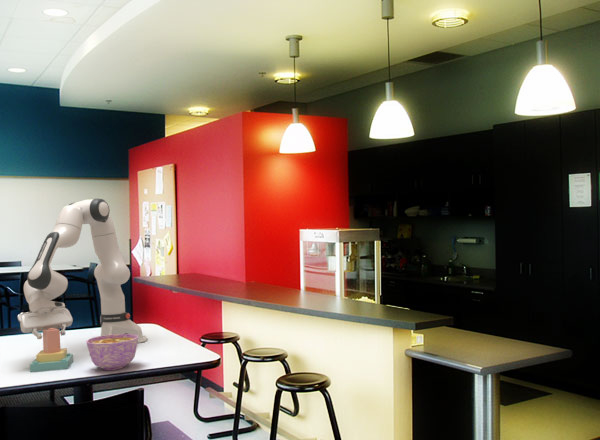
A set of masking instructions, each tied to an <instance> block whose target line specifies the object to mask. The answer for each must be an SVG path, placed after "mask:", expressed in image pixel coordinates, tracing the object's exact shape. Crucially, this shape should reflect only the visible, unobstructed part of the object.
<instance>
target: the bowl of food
mask: <svg viewBox="0 0 600 440" xmlns="http://www.w3.org/2000/svg"><path fill="white" fill-rule="evenodd" d="M138 338H139V337H138V335H134V334H113V335H104V336H101V335H100V336H94V337H92V338H89V339H87V340H86V346H87V349H88V353H89V356H90V359H91V362H92V363H93V364H94V366H96V367H97V368H101V369H103V370H104V371H115V370H120V369H123V368H125V366H127V365H129V364H130V363H132V361H133V360H134V359H135V355H136V352H137V349H138V348H137V347H138V344H139V343H138Z"/></svg>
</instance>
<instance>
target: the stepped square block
mask: <svg viewBox="0 0 600 440" xmlns="http://www.w3.org/2000/svg"><path fill="white" fill-rule="evenodd" d="M73 362H74V354H73V353H70V352H68V348H60V352H55V353H49V354H48V353H45V352H44V351H43V349H42V350H39V352H38V353H37V354H36V355H35V359H34V360H33V361H32V362H31V363H30V364H29V369H30V370H29V372H30V373H36V372H46V371H48V372H49V371H58V370H67V369H69V368H70V366H71V365H72V364H73Z"/></svg>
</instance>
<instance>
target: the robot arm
mask: <svg viewBox="0 0 600 440" xmlns="http://www.w3.org/2000/svg"><path fill="white" fill-rule="evenodd" d="M110 210H111V209H110V206H109V204H108V202H107V201H106V200H105V199H102V198H94V199H91V198H90V199H83V200H80V201H77V202H71V203H69V204H67V205H65V206H63V208H61V210H60V212H59V213H58V215H57V219H56V222H55V225H54V229H53V231H52V232H49V233H48V234H47V235H46V237H45V239H44V240H43V242H42V245H41V247H40V250H39V252H38V254H37V257H36V259H35V261H34V262H33V265H32V266H31V268H30V269H29V271H28V273H27V276H26V279H27V280H26V281H25V282H24V284H23V294H24V297H25V300H26V302H27V303H28V308H29V311H27V312H20V313H19V314H18V315H17V317H16V318H17V321H18V322H19V326H20V332H22V333H24V334H27V333H32V335H33V336H35V337H36V339H37V340H43V333H40V332H43V330H46V329H48V328H56V329H61V330H60V337H61V336H66V331H65V330H66V328H68V327H69V328H70V327H71V326H72V324H73V320H74V319H73V316H72V314H71V312H70V310H69V309H68V308H66V305H65V303H64V302H61V301H60V302H59V301H55V299H57V298H58V297H60V296H61V295H63V294H64V293H66V291H67V289H68V286H69V282H68V281H69V280H68V278H67V277H66V276H64V275H63V274H62V273H59V272H57V271H55V270H53V269H52V268H51V263H52V261H53V258H54V255H55V254H56V251H57V249H59V248H61V249H63V248H65V249H66V248H70V247H73V246H74V245H76V244H77V243H78V241H79V239H80V237H81V233H82V229H83V225H87V224H88V225H89V226H90V235H91V239H92V244H93V249H94V253H95V255H96V256H97V257H98V261H99V262H100V263H99V264H97V265H96V267H95V268H94V271H93V276H94V278H95V279H96V283H97V288H98V291H99V298H100V312H101V313H100V317H99V319H100V329H101V330H100V336H104V335H113V334H134V335H138V337H139V338H138V343H137V344H139V343H144V342H147V341H148V336H146V335H144V334H143V330H142V327H141V326H140V325H139V324H137V323H135V322H134V321H132V320H131V319H130V318H131V315H130V313H129V312H126V301H125V299H126V298H125V294H124V292H123V289H122V287H121V286H122V285H123V284H125V283H127V282H128V280H130V277H131V272H130V271H131V270H130V269H129V267H128V266H127V265H126V262H125V259H124V257H123V255H122V253H121V250H120V247H119V242H118V238H117V234H116V233H117V232H116V229H115V225H114V221H113V220H112V217H111V215H110ZM53 300H54V301H53Z"/></svg>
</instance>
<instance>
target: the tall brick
mask: <svg viewBox="0 0 600 440" xmlns="http://www.w3.org/2000/svg"><path fill="white" fill-rule="evenodd" d="M60 329H61V328H48V329H46V330H42V345H43V347H42V350H43V351H44V352H45V353H48V354H49V353H55V352H60V349H61V334H60V332H61V330H60Z"/></svg>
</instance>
